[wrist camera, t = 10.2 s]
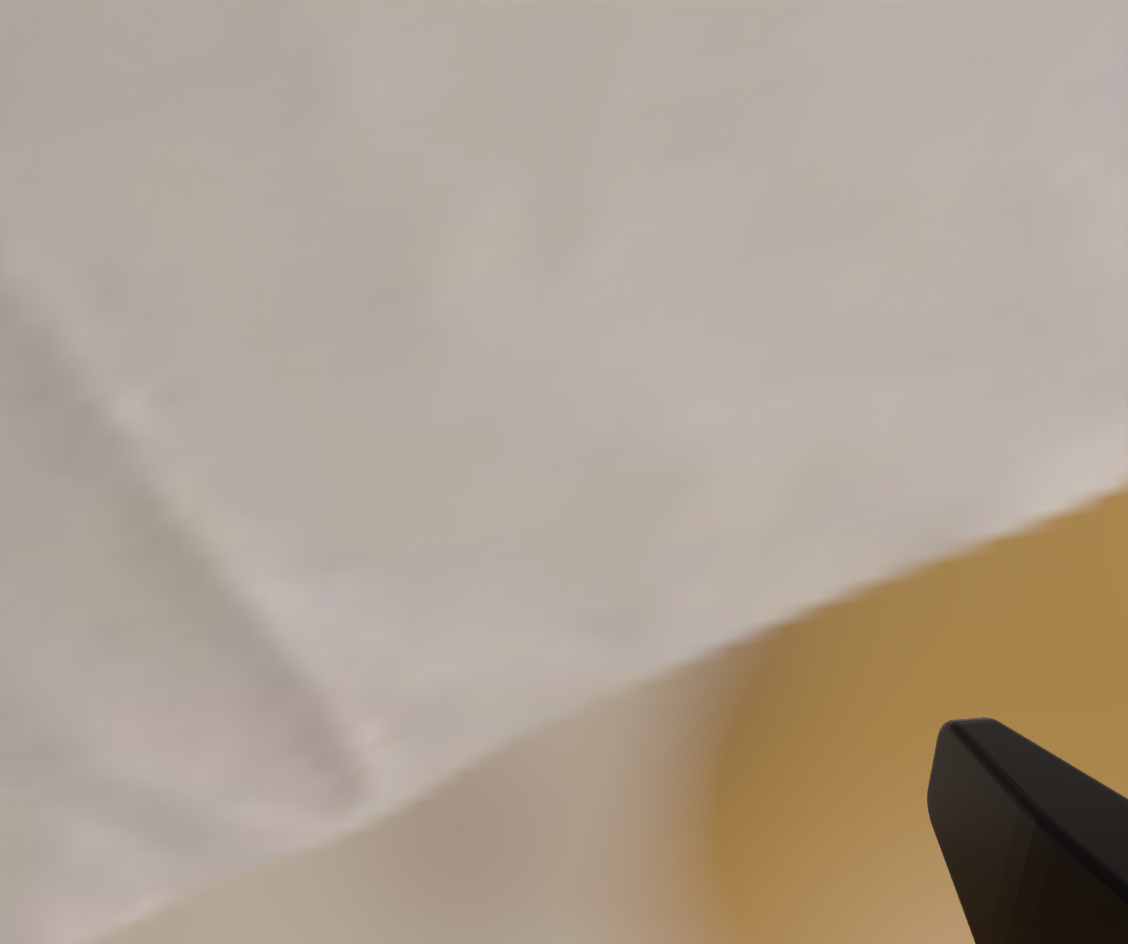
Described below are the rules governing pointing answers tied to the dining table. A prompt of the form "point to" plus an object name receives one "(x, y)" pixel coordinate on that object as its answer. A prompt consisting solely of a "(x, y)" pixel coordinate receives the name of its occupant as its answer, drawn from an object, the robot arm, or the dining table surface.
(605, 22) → the dining table surface
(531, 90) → the dining table surface
